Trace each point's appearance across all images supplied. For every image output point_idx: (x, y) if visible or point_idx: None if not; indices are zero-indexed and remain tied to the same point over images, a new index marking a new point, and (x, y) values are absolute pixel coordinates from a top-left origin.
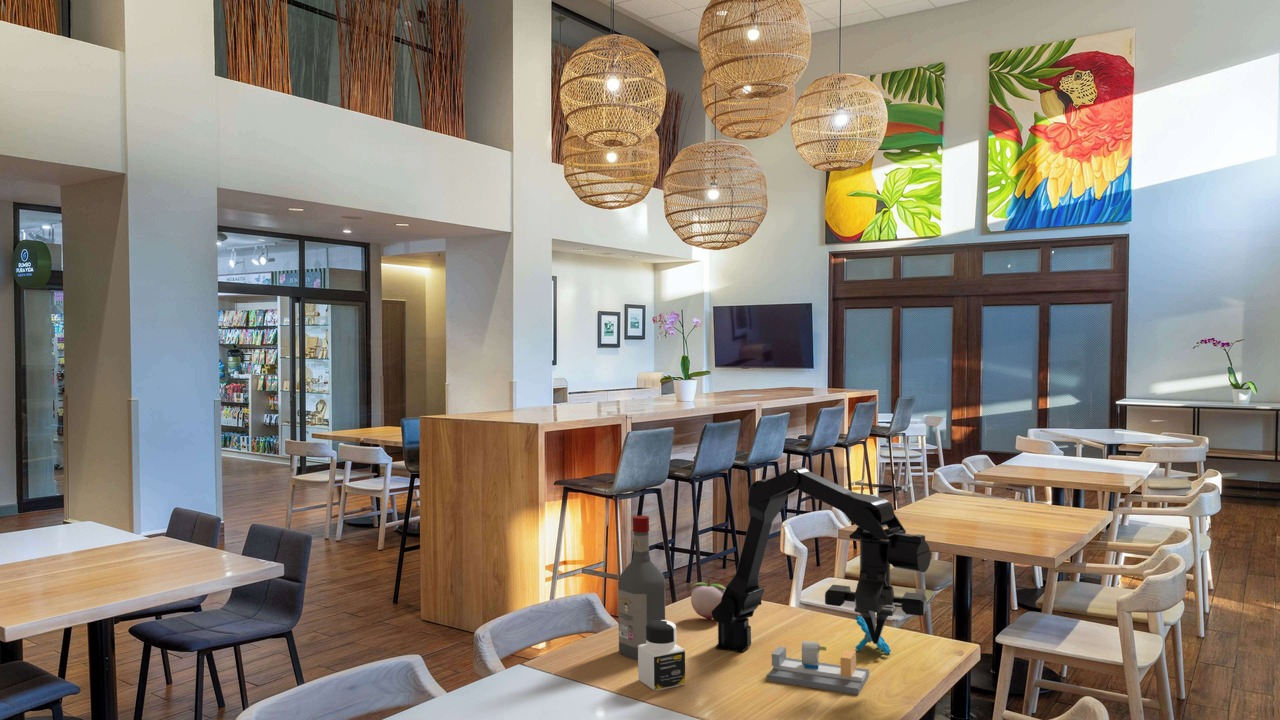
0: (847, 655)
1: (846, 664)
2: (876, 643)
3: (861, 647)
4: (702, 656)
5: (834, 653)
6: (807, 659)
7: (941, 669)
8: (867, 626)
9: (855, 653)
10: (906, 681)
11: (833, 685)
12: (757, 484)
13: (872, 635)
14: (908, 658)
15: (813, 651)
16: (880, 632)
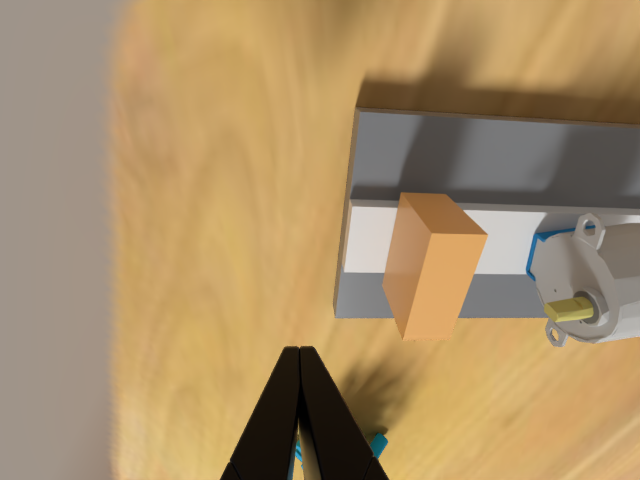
0: (447, 273)
1: (441, 218)
2: (291, 347)
3: (371, 444)
4: None
5: (440, 404)
6: (623, 228)
7: (138, 407)
8: (379, 465)
9: (402, 325)
10: (206, 301)
11: (472, 118)
12: None
13: (321, 391)
14: None
15: (628, 258)
16: (247, 425)
